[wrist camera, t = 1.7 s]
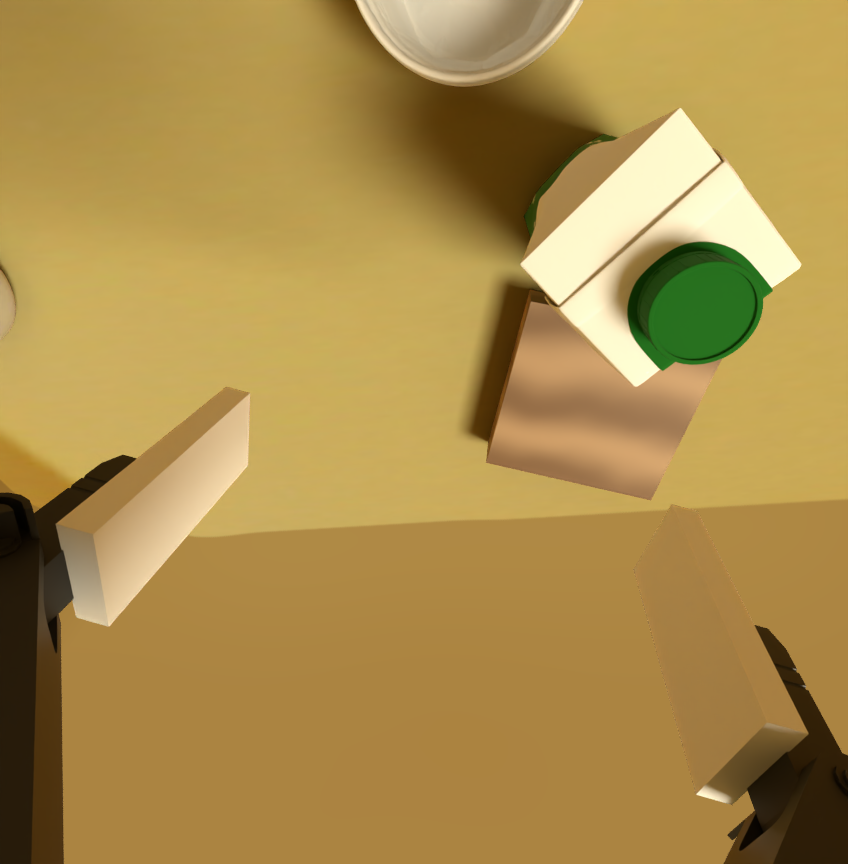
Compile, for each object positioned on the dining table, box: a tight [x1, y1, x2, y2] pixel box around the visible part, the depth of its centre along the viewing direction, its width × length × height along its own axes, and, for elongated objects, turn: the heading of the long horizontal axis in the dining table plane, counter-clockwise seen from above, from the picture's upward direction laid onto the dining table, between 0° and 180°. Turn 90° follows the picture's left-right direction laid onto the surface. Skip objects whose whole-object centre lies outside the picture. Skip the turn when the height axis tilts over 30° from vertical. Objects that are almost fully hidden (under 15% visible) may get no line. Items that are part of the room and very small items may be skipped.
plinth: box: [486, 289, 722, 500], centre depth 41 cm, size 14×14×4 cm
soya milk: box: [520, 108, 801, 387], centre depth 27 cm, size 9×9×20 cm
